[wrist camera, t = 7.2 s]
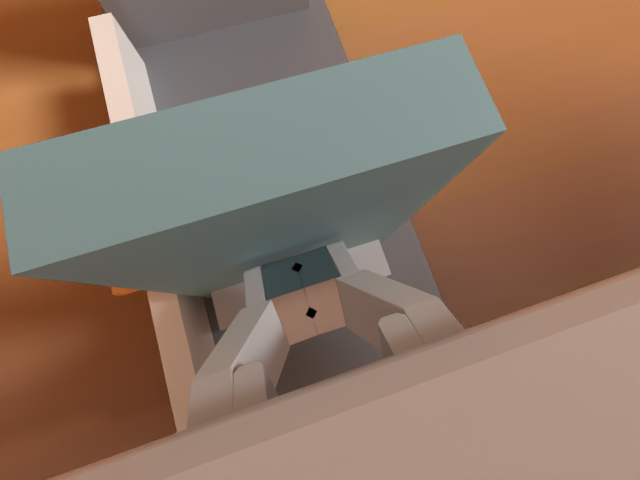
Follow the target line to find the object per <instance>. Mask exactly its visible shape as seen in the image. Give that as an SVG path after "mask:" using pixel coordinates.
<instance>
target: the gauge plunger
mask: <svg viewBox="0 0 640 480" xmlns="http://www.w3.org/2000/svg"><path fill="white" fill-rule="evenodd" d="M506 130H507V128H506V126H505V124H504V122H503V120H502V118H501V116H500V114H499V112H498V110H497V108H496V106H495V104H494V102H493V99H492V97H491V95H490V93H489V91H488V89H487V87H486V85H485V83H484V81H483V79H482V77H481V75H480V73H479V71H478V68H477V66H476V64H475V62H474V60H473V58H472V56H471V54H470V52H469V50H468V48H467V46H466V44H465V42H464V40H463V37H462V35H461V33H460V34H456V35H452V36H448V37H445V38H441V39H437V40H433V41H429V42H425V43H421V44H417V45H413V46H410V47H406V48H402V49H398V50H394V51H390V52H386V53H382V54H378V55H375V56H371V57H367V58H363V59H359V60H355V61H351V62H347V63H343V64H340V65H336V66H332V67H328V68H324V69H320V70H316V71H312V72H308V73H305V74H301V75H297V76H293V77H289V78H285V79H281V80H277V81H273V82H270V83H266V84H262V85H258V86H254V87H250V88H246V89H242V90H238V91H235V92H231V93H227V94H223V95H219V96H215V97H211V98H207V99H203V100H200V101H196V102H192V103H188V104H184V105H180V106H176V107H172V108H168V109H165V110H161V111H157V112H153V113H149V114H145V115H141V116H137V117H133V118H130V119H126V120H122V121H118V122H114V123H110V124H106V125H102V126H98V127H95V128H91V129H87V130H83V131H79V132H75V133H71V134H67V135H63V136H60V137H56V138H52V139H48V140H44V141H40V142H36V143H32V144H28V145H25V146H21V147H17V148H13V149H9V150H5V151H1V152H0V196H1V203H2V211H3V218H4V226H5V233H6V241H7V248H8V256H9V263H10V271H11V275H13V276H22V277H31V278H40V279H48V280H57V281H66V282H75V283H83V284H92V285H101V286H110V287H111V291H112V295H118V296H123V295H127V294H130V293H133V292H136V291H140V290H145V291H153V292H162V293H171V294H180V295H189V296H197V297H206V298H212V300H213V304H214V308H215V312H216V316H217V320H218V324H219V328H220V331H221V330H225V329H228V327H229V326H230V324H231V323H232V321H233V320H234V318H235V317H236V315H237V314H238V313H239V311H240V310H241V309H243V308H246V307H245V293H244V280H243V272H244V270H247V269H250V268H253V267H257V266H261V265H263V264H267V263H270V262H274V261H277V260H280V259H284V258H287V257H291V256H293V257H294V256H295V255H298V254H301V253H304V252H307V251H310V250H313V249H316V248H319V247H322V246H325V245H327V244H330V243H333V242H336V241H339V240H341V241H343V243H344V244H345V246H346V248H347V249H348V251H349V253H350V254H351V256H352V258H353V259H354V261H355V263H356V265H357V266H358V268H359V270H363V269H366V270H369V271H371V272H374V273H377V274H379V275H382V276H384V277H386V276H389V275H391V271H390V269H389V266H388V263H387V261H386V258H385V255H384V252H383V250H382V247H381V243H383V242H384V241H385V240H386V239H387V238H388V237H389V236H390V235H391V234H393V233H394V232H395V231H396V230H397V229H398V228H399V227H400V226H401V225H402V224H404V223H405V222H406V221H407V220H408V219H409V218H410V217H411V216H412V215H413V214H415V213H416V212H417V211H418V210H419V209H420V208H421V207H422V206H423V205H425V204H426V203H427V202H428V201H429V200H430V199H431V198H432V197H433V196H434V195H436V194H437V193H438V192H439V191H440V190H441V189H442V188H443V187H444V186H446V185H447V184H448V183H449V182H450V181H451V180H452V179H453V178H454V177H455V176H457V175H458V174H459V173H460V172H461V171H462V170H463V169H464V168H465V167H466V166H468V165H469V164H470V163H471V162H472V161H473V160H474V159H475V158H476V157H478V156H479V155H480V154H481V153H482V152H483V151H484V150H485V149H486V148H487V147H489V146H490V145H491V144H492V143H493V142H494V141H495V140H496V139H497V138H499V137H500V136H501V135H502V134H503V133H504V132H505V131H506ZM294 260H295V259H294Z"/></svg>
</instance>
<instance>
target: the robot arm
mask: <svg viewBox="0 0 640 480" xmlns="http://www.w3.org/2000/svg"><path fill="white" fill-rule="evenodd" d="M294 259H295V260H294ZM243 280H244V293H245V307H246V308H243V309H241V310H240V311H239V313H238V314H237V315H236V317H235V318H234V320H233V321H232V323H231V324H230V326H229V327H228V329H227V330H226V332H225V333H224V335H223V336H222V337H221V339H220V340H219V342H218V343H217V345H216V346H215V348H214V349H213V351H212V352H211V354H210V355H209V357H208V358H207V359H206V361H205V362H204V364H203V365H202V367H201V368H200V370H199V371H198V373H197V374H196V376H195V377H194V378H193V380H192V381H191V391H190V401H189V410H188V420H187V429H185V430H182V431H180V432H177V433H174V434H171V435H168V436H166V437H163V438H160V439H157V440H154V441H152V442H149V443H146V444H143V445H140V446H138V447H135V448H132V449H129V450H126V451H124V452H121V453H118V454H115V455H113V456H110V457H107V458H104V459H101V460H99V461H96V462H93V463H90V464H87V465H85V466H82V467H79V468H76V469H73V470H71V471H68V472H65V473H62V474H59V475H57V476H54V477H51V478H48V479H45V480H640V267H638V268H635V269H632V270H630V271H627V272H624V273H621V274H618V275H616V276H613V277H610V278H607V279H604V280H602V281H599V282H596V283H593V284H590V285H588V286H585V287H582V288H579V289H576V290H574V291H571V292H568V293H565V294H563V295H560V296H557V297H554V298H551V299H549V300H546V301H543V302H540V303H537V304H535V305H532V306H529V307H526V308H523V309H521V310H518V311H515V312H512V313H509V314H507V315H504V316H501V317H498V318H496V319H493V320H490V321H487V322H484V323H482V324H479V325H476V326H473V327H470V328H468V329H464V327H463V326H462V325H461V324H460V323H459V321H458V320H457V319H456V318H455V317H454V315H453V314H452V313H451V312H450V311H449V309H448V308H447V307H446V306H445V305H444V303H443V302H442V301H441V300H440V299H439V297H437V296H434V295H431V294H429V293H426V292H424V291H421V290H418V289H416V288H413V287H411V286H408V285H405V284H403V283H400V282H397V281H395V280H392V279H390V278H387V277H384V276H382V275H379V274H377V273H374V272H371V271H369V270H366V269H363V270H359V268H358V266H357V265H356V263H355V261H354V259H353V258H352V256H351V254H350V253H349V251H348V249H347V248H346V246H345V244H344V243H343V241H341V240H339V241H336V242H333V243H330V244H327V245H325V246H322V247H319V248H316V249H313V250H310V251H307V252H304V253H301V254H298V255H295V256H294V257H293V256H291V257H287V258H284V259H280V260H277V261H274V262H270V263H267V264H263V265H261V266H257V267H253V268H250V269H247V270H244V272H243ZM314 323H315V324H314ZM315 326H316V327H315ZM345 326H347V328H349V329H350V330H352V331H353V332H354V333H356V334H357V335H359V336H360V337H362V338H363V339H364V340H366V341H367V342H369V343H370V344H372V345H373V346H375V347H376V348H377V349H379V350H380V351H382V355H383V359H381V360H378V361H375V362H372V363H370V364H367V365H364V366H361V367H358V368H356V369H353V370H350V371H347V372H344V373H342V374H339V375H336V376H333V377H330V378H328V379H325V380H322V381H319V382H316V383H314V384H311V385H308V386H305V387H303V388H300V389H297V390H294V391H291V392H289V393H286V394H283V395H280V396H278V394H277V392H276V390H275V388H276V386H277V383H278V380H279V377H280V374H281V372H282V369H283V366H284V363H285V360H286V358H287V355H288V352H289V349H290V345H292V344H295V343H298V342H300V341H303V340H306V339H308V338H311V337H314V336H316V335H319V334H322V333H326V332H329V331H332V330H335V329H338V328H342V327H345ZM316 329H317V330H316ZM317 332H318V334H317Z"/></svg>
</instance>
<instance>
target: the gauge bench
mask: <svg viewBox="0 0 640 480" xmlns="http://www.w3.org/2000/svg"><path fill="white" fill-rule="evenodd" d="M98 2H99V3H100V5H101V6H102V10H103V14H102V15H97V16H93V17H89V18H88V21H89V26H90V30H91V35H92V39H93V44H94V49H95V53H96V58H97V63H98V67H99V72H100V77H101V81H102V86H103V91H104V95H105V100H106V105H107V109H108V114H109V119H110V123H114V122H118V121H122V120H126V119H130V118H133V117H137V116H141V115H145V114H149V113H153V112H157V111H161V110H165V109H168V108H172V107H176V106H180V105H184V104H188V103H192V102H196V101H200V100H203V99H207V98H211V97H215V96H219V95H223V94H227V93H231V92H235V91H238V90H242V89H246V88H250V87H254V86H258V85H262V84H266V83H270V82H273V81H277V80H281V79H285V78H289V77H293V76H297V75H301V74H305V73H308V72H312V71H316V70H320V69H324V68H328V67H332V66H336V65H340V64H343V63H347V62H349V61H348V59H347V56H346V54H345V51H344V49H343V46H342V44H341V41H340V39H339V36H338V33H337V31H336V28H335V26H334V23H333V21H332V18H331V16H330V13H329V11H328V8H327V6H326V3H325V0H98ZM381 247H382V250H383V252H384V255H385V258H386V261H387V263H388V266H389V269H390V271H391V275H389V276H386V277H387V278H390V279H392V280H395V281H397V282H400V283H403V284H405V285H408V286H411V287H413V288H416V289H418V290H421V291H424V292H426V293H429V294H431V295H434V296H437V297H439V299H440V300H441V301H442V302H443V300H442V297H441V295H440V292H439V290H438V287H437V285H436V282H435V280H434V277H433V275H432V272H431V270H430V267H429V264H428V262H427V259H426V257H425V254H424V252H423V249H422V247H421V244H420V242H419V239H418V237H417V234H416V231H415V229H414V226H413V224H412V221H411V219H410V218H409V219H408V220H407V221H406V222H405V223H404V224H402V225H401V226H400V227H399V228H398V229H397V230H396V231H395V232H394V233H393V234H391V235H390V236H389V237H388V238H387V239H386V240H385V241H384V242H383V243H381ZM147 295H148V300H149V305H150V309H151V314H152V319H153V323H154V328H155V333H156V337H157V342H158V347H159V351H160V356H161V361H162V365H163V370H164V375H165V379H166V384H167V388H168V393H169V398H170V402H171V407H172V414H173V419H174V423H175V426H176V430H177V432H180V431H182V430H185V429H187V420H188V410H189V401H190V391H191V381H192V380H193V378H194V377H195V376H196V374H197V373H198V371H199V370H200V368H201V367H202V365H203V364H204V362H205V361H206V359H207V358H208V357H209V355H210V354H211V352H212V351H213V349H214V348H215V346H216V345H217V343H218V342H219V340H220V339H221V337H222V336H223V335H224V333H225V332H226V330H227V329H225V330H221V331H220V328H219V324H218V320H217V316H216V312H215V308H214V304H213V300H212V298H206V297H197V296H189V295H180V294H171V293H162V292H153V291H147ZM314 324H315V323H314ZM315 327H316V326H315ZM316 330H317V329H316ZM317 334H318V332H317ZM381 359H383V355H382V351H380V350H379V349H377V348H376V347H375V346H373V345H372V344H370V343H369V342H367V341H366V340H364V339H363V338H362V337H360V336H359V335H357V334H356V333H354V332H353V331H352V330H350V329H349V328H347V326H345V327H342V328H338V329H335V330H332V331H329V332H326V333H322V334H319V335H316V336H314V337H311V338H308V339H306V340H303V341H300V342H298V343H295V344H292V345H290V349H289V352H288V355H287V358H286V360H285V363H284V366H283V369H282V372H281V374H280V377H279V380H278V383H277V386H276V388H275V390H276V392H277V394H278V396H280V395H283V394H286V393H289V392H291V391H294V390H297V389H300V388H303V387H305V386H308V385H311V384H314V383H316V382H319V381H322V380H325V379H328V378H330V377H333V376H336V375H339V374H342V373H344V372H347V371H350V370H353V369H356V368H358V367H361V366H364V365H367V364H370V363H372V362H375V361H378V360H381Z"/></svg>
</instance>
